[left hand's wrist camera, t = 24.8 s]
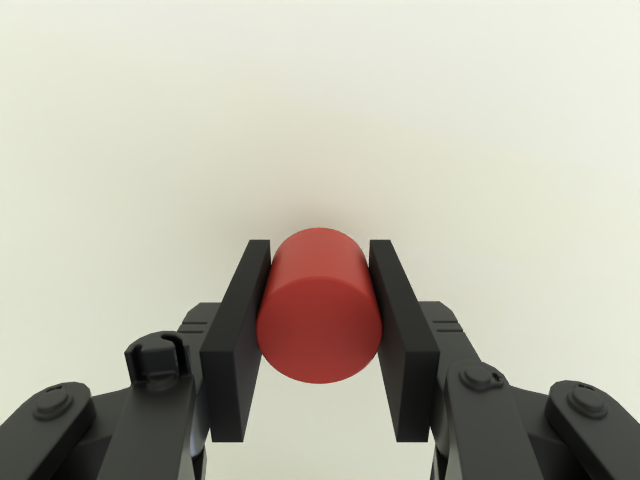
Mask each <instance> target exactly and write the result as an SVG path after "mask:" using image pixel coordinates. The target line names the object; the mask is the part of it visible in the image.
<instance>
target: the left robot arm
mask: <svg viewBox="0 0 640 480" xmlns="http://www.w3.org/2000/svg"><path fill="white" fill-rule="evenodd" d="M270 268H271V253H270V240H249V243H248V245H247V247H246V249H245V251H244V254H243V256H242V258H241V260H240V262H239V265H238V267H237V269H236V271H235V274H234V276H233V278H232V280H231V282H230V285H229V287H228V289H227V291H226V293H225V296H224V298H223V300H222V302H221V303H199V304H198V305H197V306H195V307H194V308H193V309H191V310H190V311H189V312H188V313H187V315H186V317H185V318H184V320H183V322H182V325H180V327H179V329H178V330H177V332H176V331H160V332H156V333H151V334H148V335H146V336H144V337H141V338H139V339H138V340H136V341H135V342H133V343H132V344H131V345H130V346H129V347H128V348H127V350H126V351H125V352H124V354H125V358H126V363H127V367H128V371H129V375H130V380H131V386H130V387H128V388H125V389H122V390H119V391H115V392H110V393H106V394H102V395H97V396H93V397H92V396H91V392H90V389H89V388H88V387H87V386H86V385H85V384H82V383H78V382H67V383H60V384H57V385H54V386H51V387H48V388H46V389H44V390H42V391H40V392H38V393H36V394H34V395H33V396H32V397H31V398H29V399H28V400H27V401H25V402H24V403H23V404H22V405H21V406H20V407H19V408H18V409H17V410H16V411H15V412H14V413H13V414H12V415H11V416H10V417H9V418H8V419H7V420H6V421H5V422H4V423H3V424H2V425H1V426H0V480H205V474H206V462H207V457H206V450H205V441H206V437H207V434H208V431H209V428H210V431H211V438H212V442H243V440H244V435H245V430H246V426H247V421H248V416H249V412H250V407H251V403H252V398H253V393H254V389H255V384H256V379H257V375H258V370H259V365H260V361H261V356H262V352H261V350H260V348H259V346H258V343H257V333H256V318H257V315H258V311H259V308H260V304H261V300H262V297H263V293H264V290H265V286H266V282H267V279H268V275H269V272H270ZM368 269H369V273H370V276H371V280H372V284H373V288H374V291H375V295H376V299H377V303H378V307H379V310H380V314H381V318H382V323H383V335H382V340H381V344H380V347H379V349H378V351H377V352H378V357H379V362H380V366H381V371H382V376H383V380H384V385H385V390H386V394H387V399H388V404H389V408H390V413H391V418H392V422H393V427H394V432H395V436H396V441H397V442H428V436H429V429H430V427H431V430H432V433H433V436H434V439H435V443H436V444H435V450H434V456H433V463H432V469H431V476H430V480H640V424H639V423H638V422H637V421H636V420H635V419H634V418H633V417H632V416H631V415H630V414H629V413H628V412H627V411H626V410H625V409H624V408H623V407H622V406H621V405H620V404H619V403H618V402H617V401H616V400H614V399H613V398H612V397H611V396H609V395H608V394H607V393H605V392H603V391H601V390H599V389H598V388H596V387H594V386H591V385H588V384H585V383H582V382H579V381H569V380H564V381H560V382H556V383H555V384H554V385H553V386H551V388H550V391H549V394H548V395H545V394H541V393H536V392H532V391H528V390H523V389H520V388H516V387H513V386H511V385H509V383H508V381H507V380H506V378H505V376H504V375H503V374H502V373H501V372H499V371H498V370H497V369H496V368H494V367H492V366H490V365H488V364H486V363H484V362H481V360H480V358H479V357H478V355H477V353H476V351H475V350H474V348H473V346H472V345H471V343H470V341H469V339H468V338H467V336H466V334H465V333H464V332H463V329H462V327H461V326H460V324H459V323H458V321H457V319H456V317H455V315H454V314H453V312H452V310H450V309H449V308H448V307H446V306H445V305H444V304H442V303H441V302H440V301H418V300H417V298H416V296H415V294H414V292H413V289H412V287H411V285H410V283H409V281H408V278H407V276H406V274H405V272H404V270H403V267H402V265H401V263H400V261H399V259H398V256H397V254H396V252H395V250H394V247H393V245H392V243H391V241H390V240H370V250H369V268H368Z"/></svg>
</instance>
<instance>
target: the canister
mask: <svg viewBox="0 0 640 480" xmlns="http://www.w3.org/2000/svg"><path fill="white" fill-rule="evenodd" d="M256 333H257V343H258V346H259V348H260V350H261V352H262V354H263V356H264V357H265V359H266V360H267V361H268V362H269V363H270V364H271V366H273V367H274V368H275V369H276V370H277V371H279V372H280V373H282V374H284V375H286V376H288V377H290V378H292V379H295V380H298V381H301V382H306V383H315V384H324V383H332V382H337V381H341V380H344V379H346V378H349V377H351V376H353V375H355V374H356V373H358V372H359V371H361V370H362V369H363V368H365V367H366V366H367V365H368V364H369V363H370V361H371V360H372V359H373V358H374V356H375V355H376V353H377V351H378V349H379V347H380V344H381V340H382V335H383V323H382V318H381V314H380V310H379V307H378V303H377V299H376V295H375V291H374V288H373V284H372V280H371V276H370V273H369V269H368V265H367V261H366V258H365V255H364V254H363V252H362V250H361V248H360V247H359V246H358V245H357V243H356V242H355V241H354V240H352V239H351V238H350V237H348V236H347V235H345V234H343V233H341V232H339V231H336V230H333V229H328V228H311V229H306V230H303V231H300V232H298V233H296V234H294V235H292V236H290V237H289V238H288V239H286V240H285V241H284V242H283V243H282V244H281V245H280V247H279V248H278V250H277V251H276V253H275V255H274V258H273V261H272V264H271V268H270V272H269V275H268V279H267V282H266V286H265V290H264V293H263V297H262V300H261V304H260V308H259V311H258V315H257V318H256Z"/></svg>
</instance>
